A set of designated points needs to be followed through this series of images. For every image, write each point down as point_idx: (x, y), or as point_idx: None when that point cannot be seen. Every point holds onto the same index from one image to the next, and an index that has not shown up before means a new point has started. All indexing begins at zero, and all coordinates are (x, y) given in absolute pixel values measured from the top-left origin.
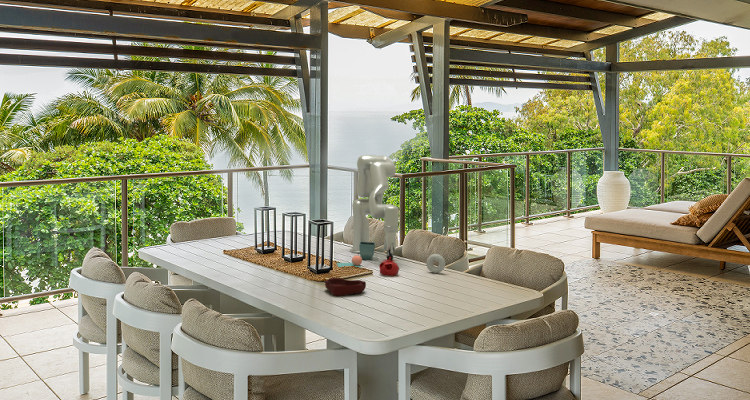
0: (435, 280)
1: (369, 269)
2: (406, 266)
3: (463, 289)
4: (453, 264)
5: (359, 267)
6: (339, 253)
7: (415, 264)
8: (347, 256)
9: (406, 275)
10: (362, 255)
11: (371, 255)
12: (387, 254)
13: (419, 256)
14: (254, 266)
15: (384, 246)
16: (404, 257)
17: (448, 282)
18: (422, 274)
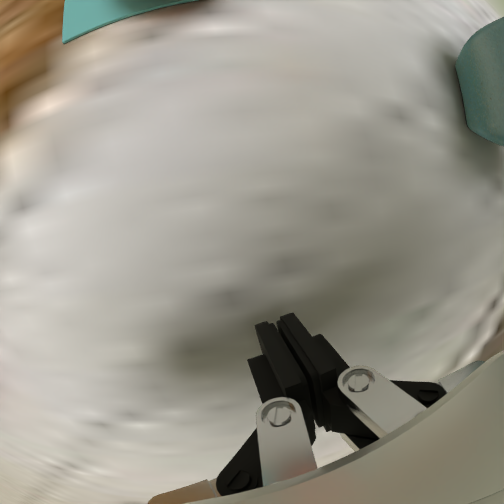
0: (25, 486)
1: (4, 148)
2: None
3: (4, 494)
4: None
5: (63, 29)
6: (490, 13)
7: None
8: (470, 15)
9: (3, 429)
10: (470, 53)
11: (489, 126)
12: (338, 390)
13: None
14: None
15: (500, 415)
16: (497, 326)
17: (34, 500)
18: (80, 486)
